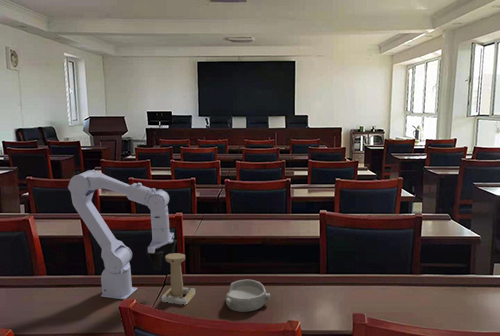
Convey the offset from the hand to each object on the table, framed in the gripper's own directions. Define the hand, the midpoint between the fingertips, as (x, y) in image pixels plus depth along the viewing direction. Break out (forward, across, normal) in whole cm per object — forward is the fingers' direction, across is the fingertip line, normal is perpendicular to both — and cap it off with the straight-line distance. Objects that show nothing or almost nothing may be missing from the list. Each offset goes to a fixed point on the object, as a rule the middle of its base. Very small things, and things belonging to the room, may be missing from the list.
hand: (163, 265), depth 139 cm
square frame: (+10, -1, -6) cm, 12 cm away
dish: (+11, +2, -29) cm, 31 cm away
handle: (+11, -2, -6) cm, 12 cm away
